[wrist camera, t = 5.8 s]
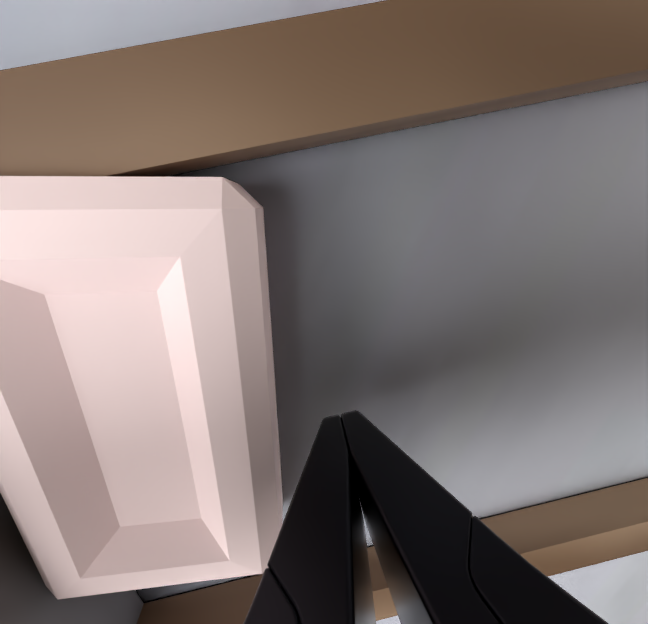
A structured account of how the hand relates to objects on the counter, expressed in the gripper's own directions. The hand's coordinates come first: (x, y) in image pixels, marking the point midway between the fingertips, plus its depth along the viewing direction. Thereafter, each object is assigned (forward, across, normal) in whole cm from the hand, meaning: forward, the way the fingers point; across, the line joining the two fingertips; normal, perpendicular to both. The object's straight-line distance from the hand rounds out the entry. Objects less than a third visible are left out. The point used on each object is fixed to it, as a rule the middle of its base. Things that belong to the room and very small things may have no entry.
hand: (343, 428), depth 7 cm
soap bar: (+2, +4, -2) cm, 5 cm away
